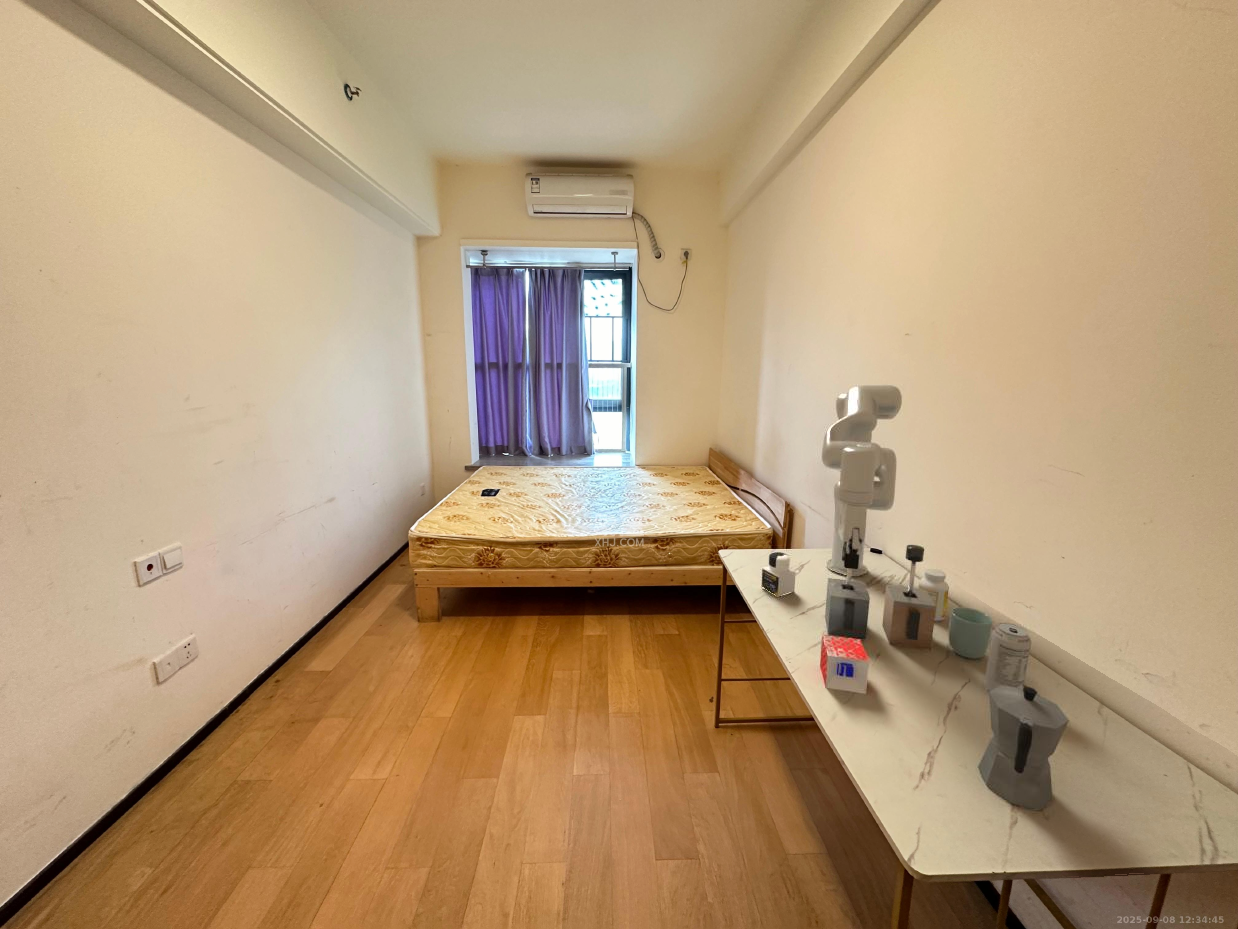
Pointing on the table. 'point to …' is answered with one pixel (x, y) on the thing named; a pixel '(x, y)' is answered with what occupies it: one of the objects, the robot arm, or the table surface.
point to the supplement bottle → (936, 590)
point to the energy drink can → (1007, 656)
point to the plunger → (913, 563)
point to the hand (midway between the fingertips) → (849, 564)
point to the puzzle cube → (844, 664)
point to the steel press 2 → (908, 617)
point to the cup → (969, 632)
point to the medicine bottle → (778, 575)
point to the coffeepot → (1022, 745)
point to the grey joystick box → (847, 609)
